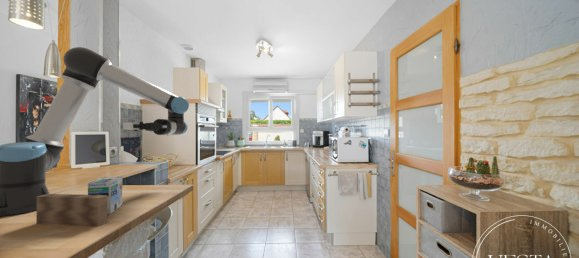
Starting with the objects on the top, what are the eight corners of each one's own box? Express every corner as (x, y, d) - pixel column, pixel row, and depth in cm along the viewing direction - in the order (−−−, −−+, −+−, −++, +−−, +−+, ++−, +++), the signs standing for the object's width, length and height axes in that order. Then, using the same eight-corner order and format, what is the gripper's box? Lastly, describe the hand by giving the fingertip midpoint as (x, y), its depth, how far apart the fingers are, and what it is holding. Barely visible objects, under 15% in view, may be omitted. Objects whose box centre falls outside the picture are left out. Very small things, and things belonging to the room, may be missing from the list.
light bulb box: (111, 214, 77) (111, 181, 77) (86, 216, 75) (86, 183, 75) (123, 204, 87) (123, 175, 87) (101, 206, 85) (101, 177, 85)
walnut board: (36, 223, 69) (36, 196, 69) (47, 219, 72) (48, 193, 72) (97, 226, 67) (98, 198, 67) (107, 222, 70) (107, 195, 70)
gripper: (177, 134, 112) (140, 135, 88) (151, 135, 113) (109, 136, 89) (176, 119, 112) (140, 115, 88) (151, 119, 113) (108, 116, 90)
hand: (124, 125), depth 89 cm, fingers closed
